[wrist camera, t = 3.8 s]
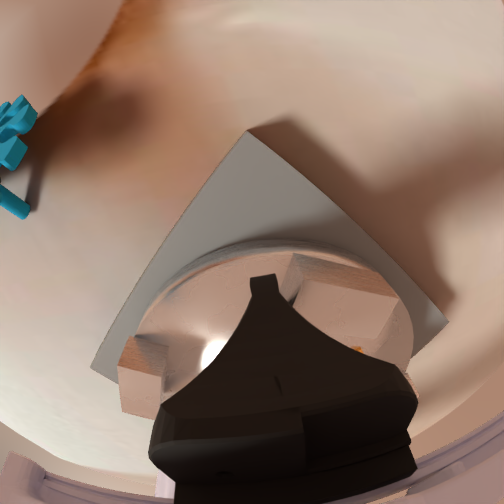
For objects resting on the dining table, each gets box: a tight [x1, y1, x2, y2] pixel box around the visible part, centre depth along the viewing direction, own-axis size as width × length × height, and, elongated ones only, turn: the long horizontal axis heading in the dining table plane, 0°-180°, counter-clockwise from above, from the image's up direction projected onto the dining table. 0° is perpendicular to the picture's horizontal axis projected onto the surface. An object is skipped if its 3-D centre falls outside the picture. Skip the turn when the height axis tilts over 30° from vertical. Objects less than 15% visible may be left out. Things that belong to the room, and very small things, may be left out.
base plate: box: [90, 131, 449, 384], centre depth 17 cm, size 18×18×2 cm
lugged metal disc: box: [117, 238, 419, 420], centre depth 14 cm, size 16×16×4 cm
